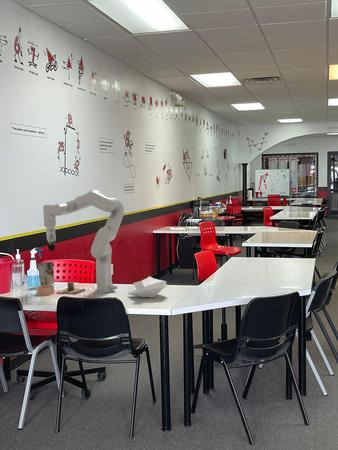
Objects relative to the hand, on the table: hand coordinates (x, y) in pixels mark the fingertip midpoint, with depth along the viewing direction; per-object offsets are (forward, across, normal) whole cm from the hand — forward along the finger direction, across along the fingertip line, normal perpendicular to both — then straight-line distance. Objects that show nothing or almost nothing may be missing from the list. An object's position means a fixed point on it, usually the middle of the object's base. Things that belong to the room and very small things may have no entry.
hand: (51, 250), depth 376 cm
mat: (+27, -14, -9) cm, 31 cm away
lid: (+26, -14, -9) cm, 31 cm away
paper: (+28, -48, -49) cm, 74 cm away
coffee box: (+26, +19, +3) cm, 32 cm away
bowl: (+26, -13, +6) cm, 30 cm away
